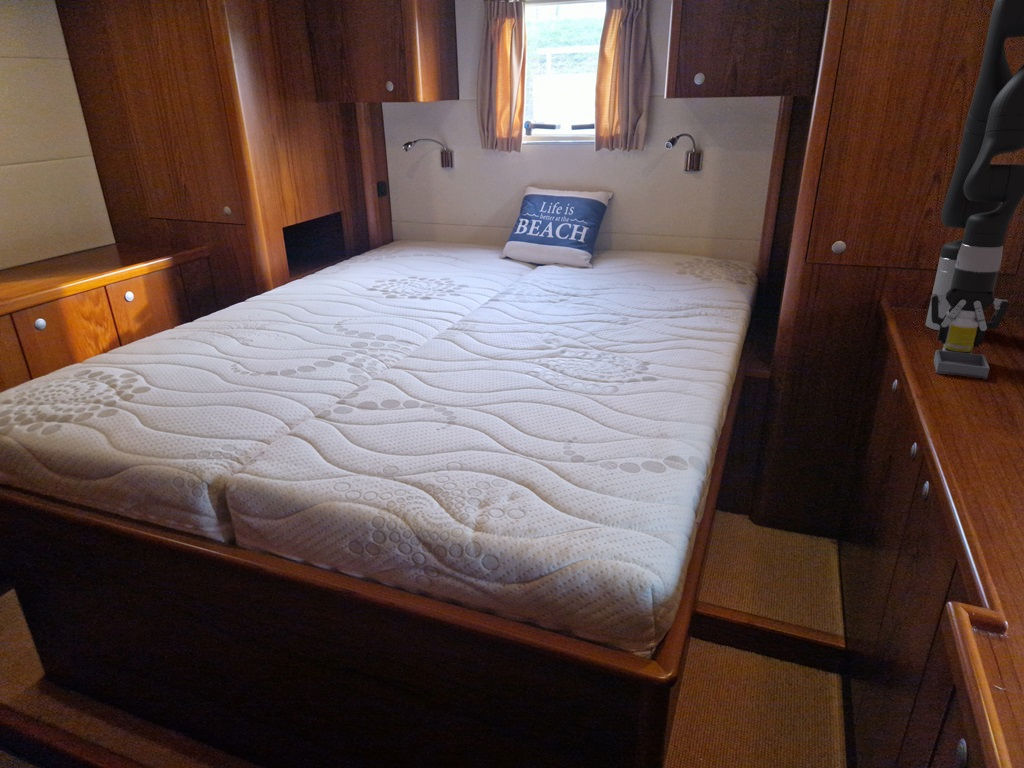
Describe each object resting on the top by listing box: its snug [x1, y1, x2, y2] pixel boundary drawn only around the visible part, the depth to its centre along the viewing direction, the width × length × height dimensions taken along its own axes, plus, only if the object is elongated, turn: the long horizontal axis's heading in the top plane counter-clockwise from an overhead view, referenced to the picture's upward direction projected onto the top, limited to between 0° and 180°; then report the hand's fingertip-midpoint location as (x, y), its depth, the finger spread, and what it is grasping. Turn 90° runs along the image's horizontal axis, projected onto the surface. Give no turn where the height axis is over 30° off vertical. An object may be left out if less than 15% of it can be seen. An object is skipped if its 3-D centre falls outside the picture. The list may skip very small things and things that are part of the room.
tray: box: [933, 349, 991, 380], centre depth 136 cm, size 9×9×2 cm
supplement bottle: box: [942, 310, 979, 354], centre depth 141 cm, size 5×5×10 cm
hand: (958, 344), depth 142 cm, fingers closed on supplement bottle, 5 cm apart
